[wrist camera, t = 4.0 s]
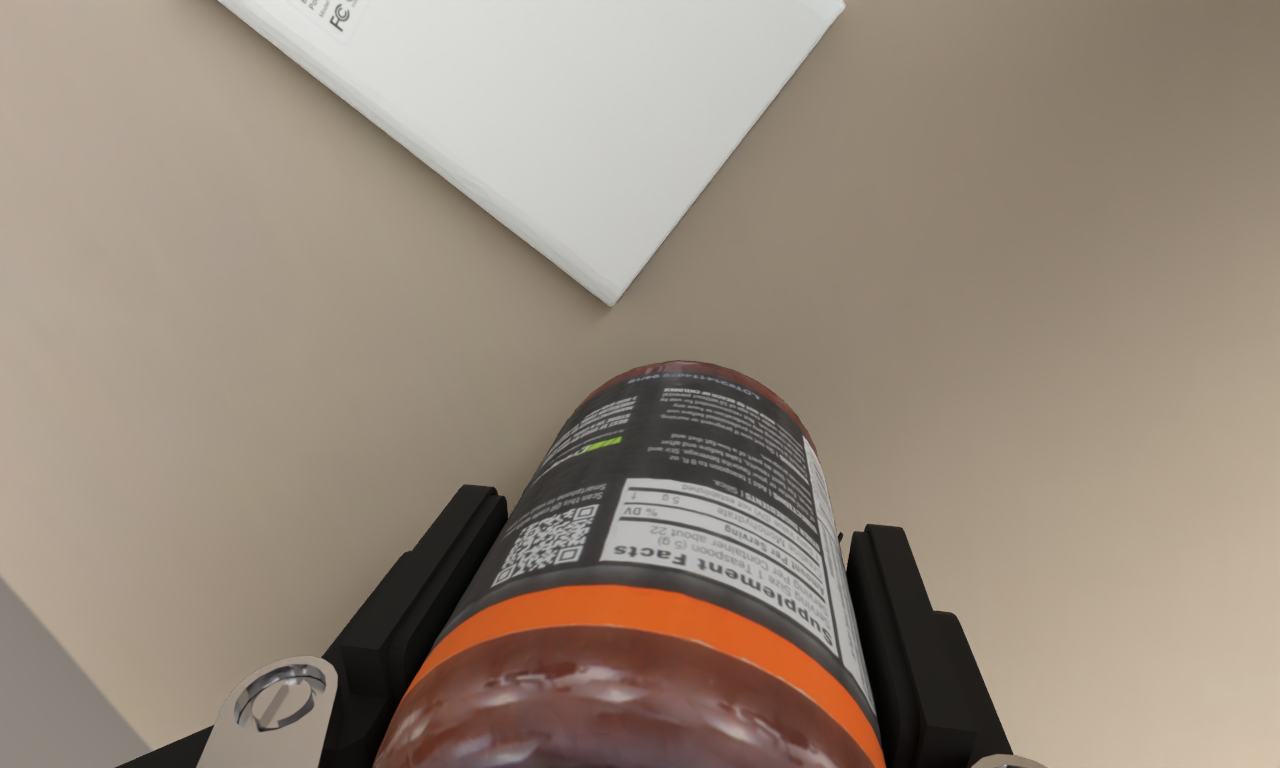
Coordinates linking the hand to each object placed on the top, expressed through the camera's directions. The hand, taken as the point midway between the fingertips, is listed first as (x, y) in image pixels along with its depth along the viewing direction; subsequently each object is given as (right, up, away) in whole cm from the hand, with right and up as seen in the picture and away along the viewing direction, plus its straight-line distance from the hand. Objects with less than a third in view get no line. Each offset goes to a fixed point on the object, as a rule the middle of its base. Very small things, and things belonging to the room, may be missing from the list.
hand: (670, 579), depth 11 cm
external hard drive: (-3, +12, +4) cm, 14 cm away
